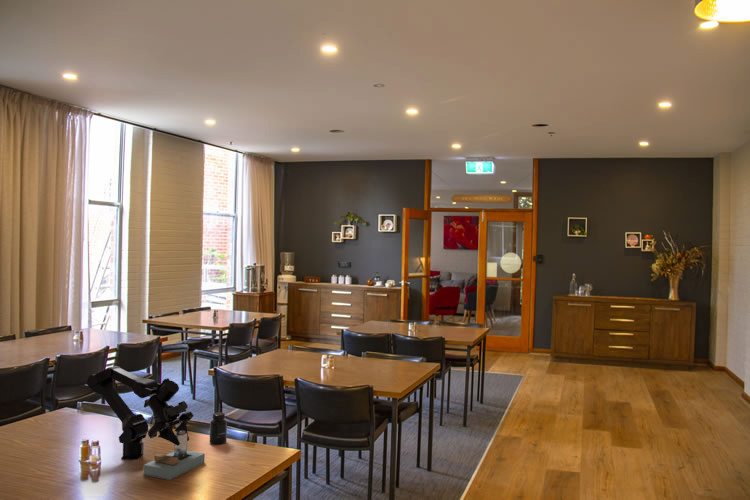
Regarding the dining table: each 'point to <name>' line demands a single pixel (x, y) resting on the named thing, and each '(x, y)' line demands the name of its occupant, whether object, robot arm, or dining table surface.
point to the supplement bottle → (218, 429)
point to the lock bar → (166, 459)
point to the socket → (174, 466)
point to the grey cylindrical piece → (181, 445)
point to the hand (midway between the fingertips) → (183, 442)
